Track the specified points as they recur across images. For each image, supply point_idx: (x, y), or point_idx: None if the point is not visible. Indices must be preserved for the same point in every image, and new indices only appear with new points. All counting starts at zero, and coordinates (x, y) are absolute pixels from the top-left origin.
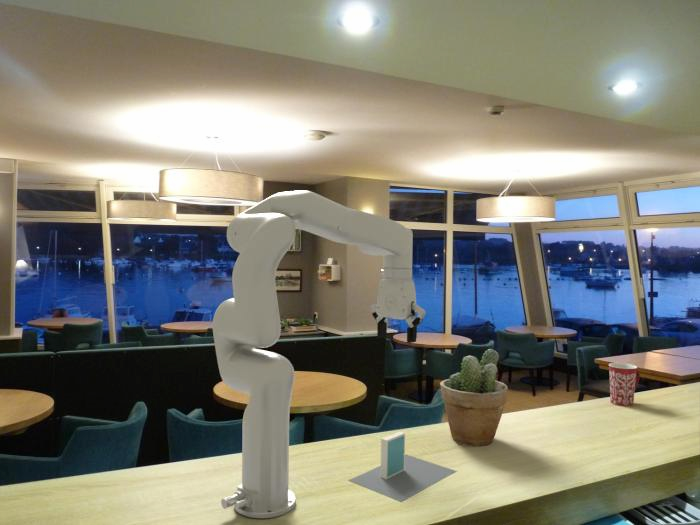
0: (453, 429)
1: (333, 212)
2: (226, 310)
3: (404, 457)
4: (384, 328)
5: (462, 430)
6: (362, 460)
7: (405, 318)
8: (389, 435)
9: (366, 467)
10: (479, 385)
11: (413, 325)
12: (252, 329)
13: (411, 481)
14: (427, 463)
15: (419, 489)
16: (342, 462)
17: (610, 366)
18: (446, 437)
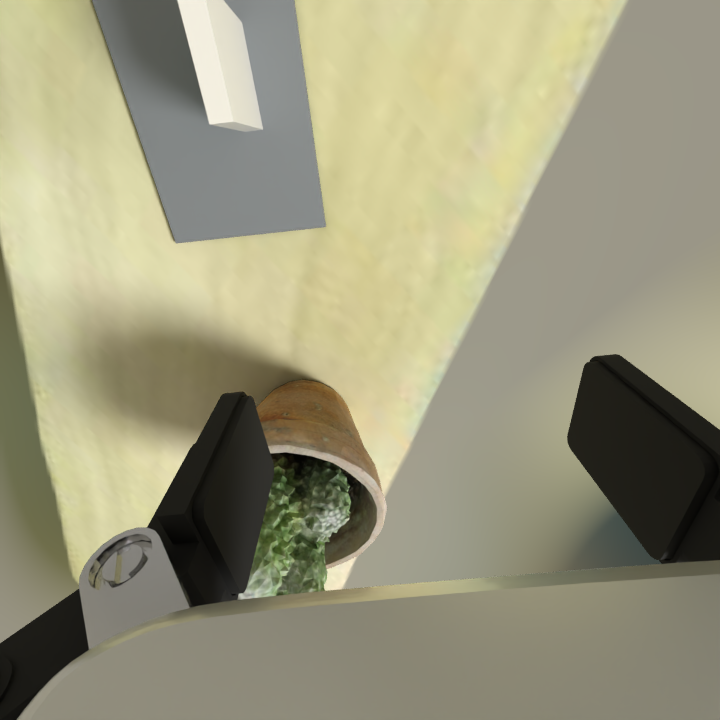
0: (314, 391)
1: None
2: None
3: (234, 129)
4: (626, 482)
5: (284, 392)
6: (379, 93)
7: (90, 652)
8: (215, 42)
9: (333, 59)
10: None
11: (91, 569)
12: None
13: (174, 83)
14: (248, 223)
15: (118, 55)
16: (409, 19)
17: None
18: (349, 387)
